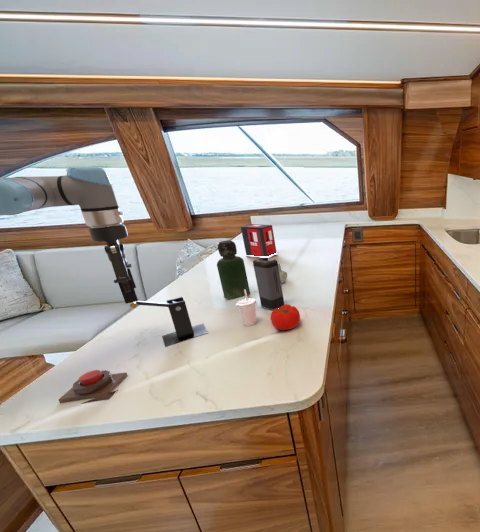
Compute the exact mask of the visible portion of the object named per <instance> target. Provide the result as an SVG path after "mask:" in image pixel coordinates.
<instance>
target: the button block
mask: <svg viewBox="0 0 480 532" xmlns="http://www.w3.org/2000/svg"><path fill="white" fill-rule="evenodd" d="M100 371H101V373H102V375H103V378H102V379H101V380H99V381H97V382H95V383H92V384H89V385H84V386H82V385H81V383H80V381H79V379H77V380H76V381H75V382H74V383H73V384H72V387H71V388H70V389H69V390H68V391H67V392H65V393H64V394H63V395H62V396H61V397H59V398H58V400H57V401H58V402H59V404H65V403H72V402H78V401H85V400H86V401H85V402H81V403H80V404H81V405H82V404H89V403H94V402H101V401H107V400H108V401H109V400H110V399H111V398H112V397H113V396H114V395H115V394H116V393H117V392H118V389H116V388H117V387H118V386H119V385H120V384H121V383H122V382H123V381H124V380H125V379H126V378H127V377H128V376H129V375H128V373H127V372H125V371H124V372H117V373H111V371H109V370H106V369H105V370H100ZM115 389H116V390H115Z"/></svg>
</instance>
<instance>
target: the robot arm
mask: <svg viewBox="0 0 480 532" xmlns="http://www.w3.org/2000/svg"><path fill="white" fill-rule="evenodd" d="M68 206H79V208H80V211H81V215H82V217H83V220H84V222H85V225H86V227H89V228H88V232H89V235H90V239H91V240H92V242H95V243H97V242H98V243H102V242H105V243H106V245H104V252H105V254H107V258H108V260H109V262H110V263H111V267H112V270H113V272H114V275H115V279H114V280H113V283H114V284H118V287H119V290H120V293H121V295H122V298H123V300H124V304H126V305H128V304H130V303H131V302H135V301H139V298H138V296H137V292H136V290H135V289H136V288H137V286H136V283H135V280H134V277H133V274H132V271H131V269H130V268H132V264H131V263H129V262H128V261H127V257H126V250H125V246H124V243H121V242H120V241H121V240H124V239H126V238H128V237H129V234H128V230H127V227H126V225H125V224H124V219H123V215H125V213H124V211H122V210H121V211H120V206H119V204H118V201H117V197H116V195H115V191H114V188H113V183H112V182H111V180H110V177H109V175H108V173H107V171H106V170H105V168H103V167H100V166H81V167H80V166H77V167H66V175H53V176H52V175H51V176H13V177H3V176H2V177H1V176H0V216H17V215H20V214H23V213H27V212H31V211H35V210H42V209H46V208H55V207H68Z"/></svg>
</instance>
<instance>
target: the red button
mask: <svg viewBox="0 0 480 532" xmlns="http://www.w3.org/2000/svg"><path fill="white" fill-rule="evenodd" d="M101 371H102V370H100V369H93V370H90V371H88V372H86V373H84V374H82V375H80V376H79V378H78V380H79V381H80V383H81V385H82V386H84V385H89V384H92V383H95V382H97V381H99V380H101V379H102V378H103V375H102V373H101Z"/></svg>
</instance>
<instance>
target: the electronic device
mask: <svg viewBox="0 0 480 532" xmlns="http://www.w3.org/2000/svg"><path fill="white" fill-rule="evenodd" d="M278 262H279V261H278V260H277V259H276V258H275V259H270V260H269V259H268V258H255V259H254V260H252V264H253V270H254V276H255V280H256V287H257V292H258V296H259V301H260V306H261V307H262V308H264V307H265V309H267V308H268V310H270V309H271V310H270V311H273V310H274V309H278V308H280V307H281V306H283V305H285V300H284V292H283V287H282V283H281V280H280V274H279V268H278Z"/></svg>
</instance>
